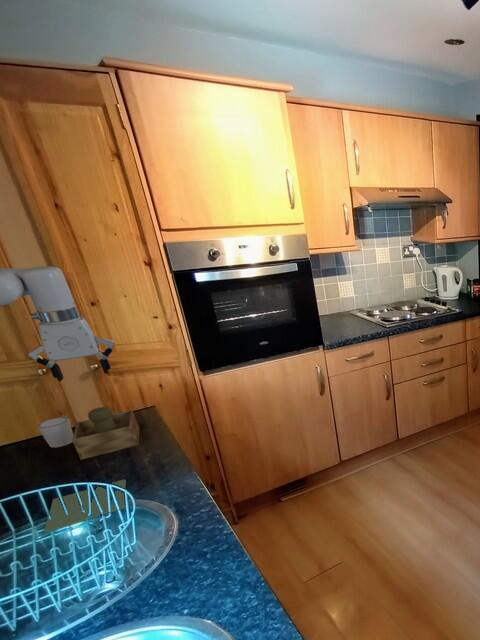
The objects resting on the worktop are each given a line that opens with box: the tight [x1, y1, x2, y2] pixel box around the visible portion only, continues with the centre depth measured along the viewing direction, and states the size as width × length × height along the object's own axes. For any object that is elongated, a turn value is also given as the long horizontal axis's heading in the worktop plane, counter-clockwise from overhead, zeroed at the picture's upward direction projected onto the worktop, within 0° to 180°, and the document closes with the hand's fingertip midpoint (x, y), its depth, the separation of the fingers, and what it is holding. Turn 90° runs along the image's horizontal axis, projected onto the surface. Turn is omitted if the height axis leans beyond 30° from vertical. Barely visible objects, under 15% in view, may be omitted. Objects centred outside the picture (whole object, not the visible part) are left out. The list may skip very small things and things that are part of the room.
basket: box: [72, 409, 140, 460], centre depth 135 cm, size 13×13×6 cm
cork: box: [87, 406, 118, 434], centre depth 134 cm, size 6×6×11 cm
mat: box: [44, 478, 127, 534], centre depth 110 cm, size 14×14×1 cm
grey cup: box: [36, 416, 74, 448], centre depth 135 cm, size 7×7×7 cm
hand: (84, 375), depth 125 cm, fingers open, 9 cm apart
